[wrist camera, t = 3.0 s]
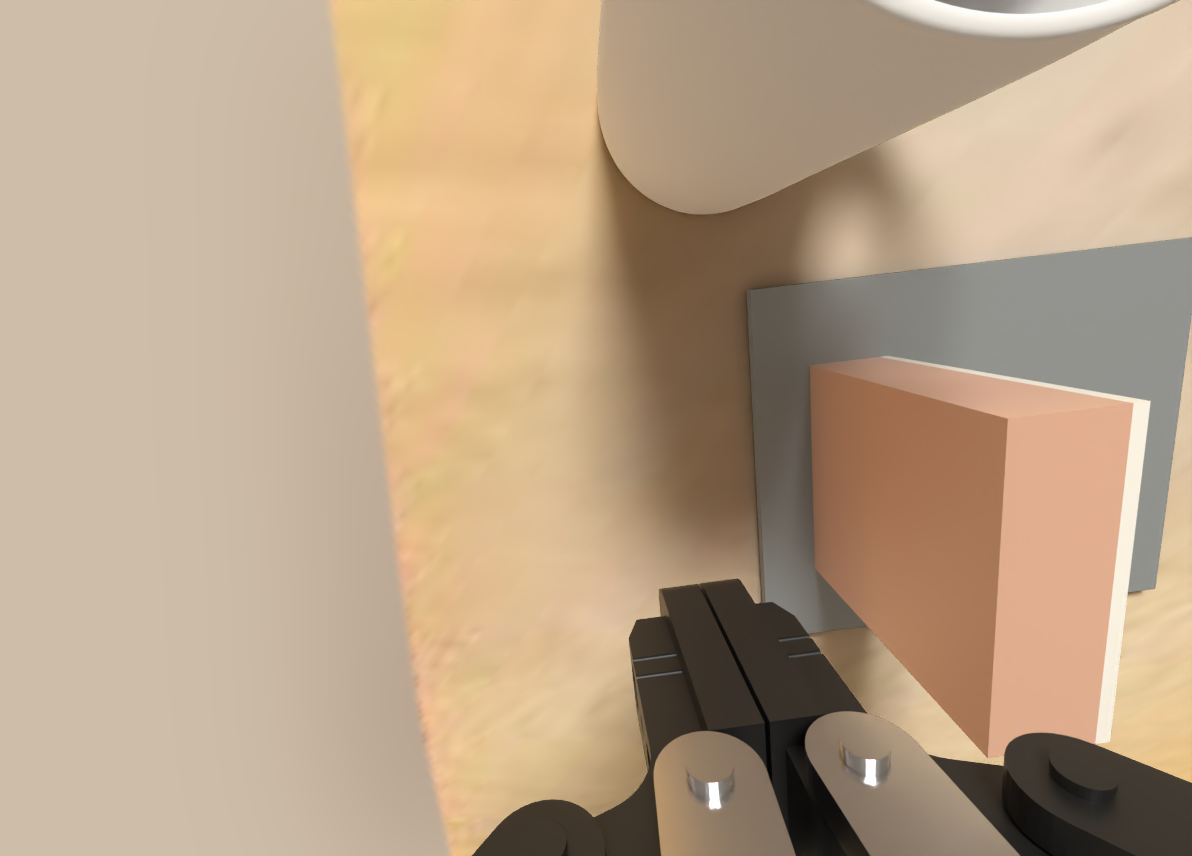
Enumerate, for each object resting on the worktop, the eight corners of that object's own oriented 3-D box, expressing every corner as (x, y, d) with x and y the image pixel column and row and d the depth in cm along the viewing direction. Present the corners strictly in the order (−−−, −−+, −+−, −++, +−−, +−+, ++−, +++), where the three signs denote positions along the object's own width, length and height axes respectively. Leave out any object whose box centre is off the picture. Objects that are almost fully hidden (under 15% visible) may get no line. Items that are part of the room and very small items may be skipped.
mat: (1187, 237, 17) (1202, 236, 17) (1143, 583, 20) (1155, 588, 20) (746, 290, 17) (750, 289, 17) (763, 632, 20) (767, 639, 19)
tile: (888, 355, 17) (1150, 400, 9) (886, 559, 19) (1109, 741, 11) (809, 365, 17) (1007, 418, 9) (814, 568, 19) (987, 758, 11)
